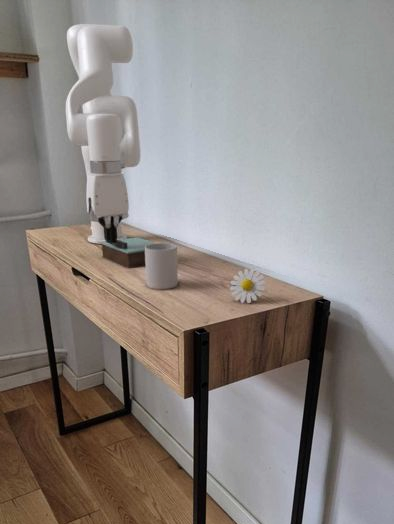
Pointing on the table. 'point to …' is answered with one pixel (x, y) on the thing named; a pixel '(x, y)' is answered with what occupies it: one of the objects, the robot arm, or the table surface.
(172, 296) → the table surface
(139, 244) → the glass top
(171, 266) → the cup
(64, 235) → the table surface
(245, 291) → the decorative flower
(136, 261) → the case
